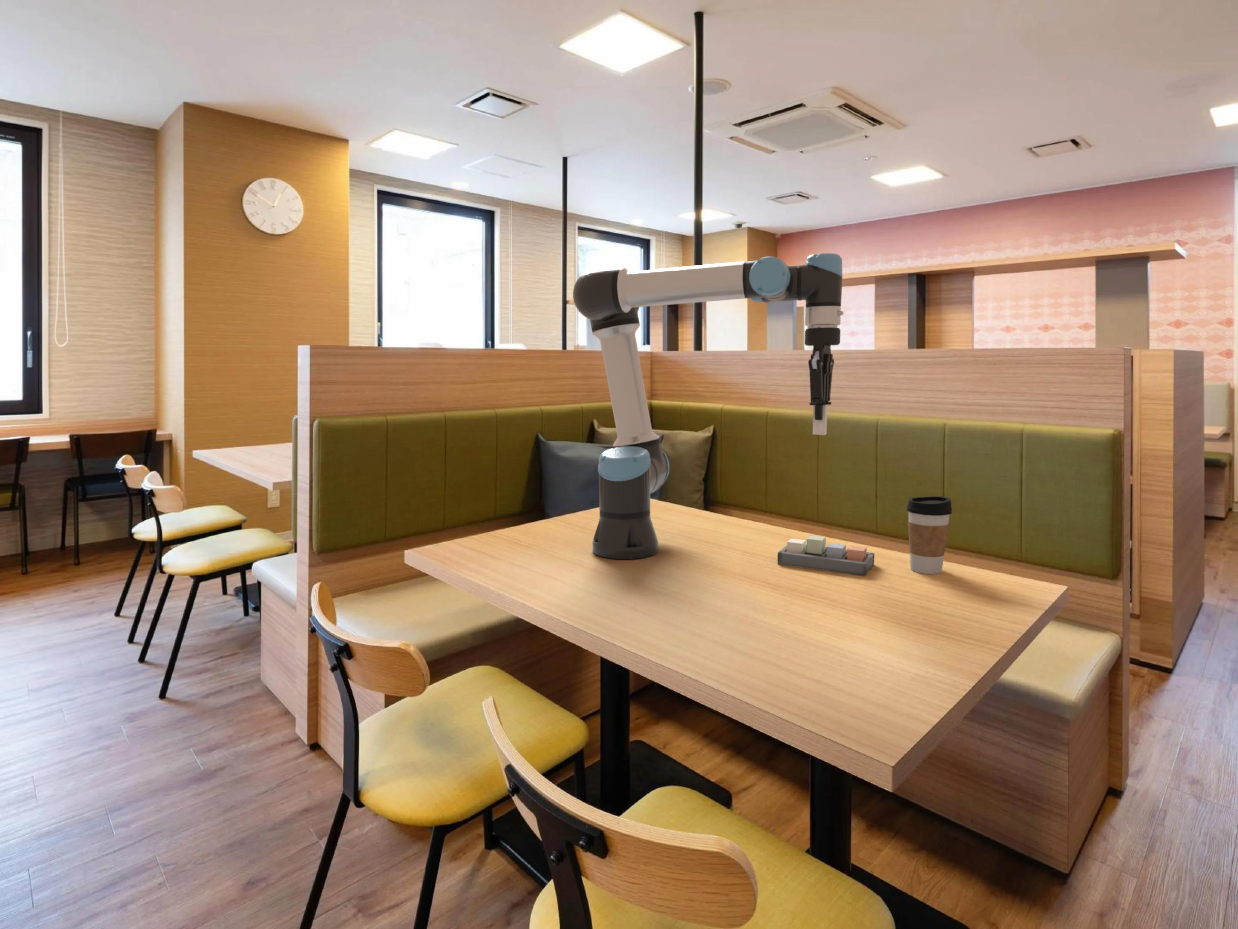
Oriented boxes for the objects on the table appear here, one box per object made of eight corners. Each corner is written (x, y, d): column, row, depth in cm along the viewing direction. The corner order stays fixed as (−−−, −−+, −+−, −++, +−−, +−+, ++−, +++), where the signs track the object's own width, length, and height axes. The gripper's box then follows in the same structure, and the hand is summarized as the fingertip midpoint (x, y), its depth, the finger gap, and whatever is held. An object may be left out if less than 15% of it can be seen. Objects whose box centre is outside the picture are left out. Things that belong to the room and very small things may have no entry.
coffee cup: (953, 577, 137) (957, 503, 135) (908, 575, 139) (911, 501, 137) (942, 565, 146) (946, 494, 143) (900, 563, 147) (903, 493, 145)
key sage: (806, 552, 147) (806, 538, 147) (810, 548, 150) (810, 535, 150) (821, 554, 146) (821, 540, 145) (825, 550, 148) (825, 537, 148)
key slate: (826, 560, 145) (826, 546, 145) (830, 556, 148) (830, 543, 148) (841, 562, 144) (842, 548, 143) (845, 558, 147) (845, 545, 146)
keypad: (777, 564, 148) (777, 552, 148) (790, 553, 156) (790, 542, 155) (865, 576, 139) (865, 564, 139) (874, 564, 147) (874, 553, 146)
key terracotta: (846, 563, 143) (847, 549, 143) (850, 559, 146) (850, 545, 146) (862, 565, 142) (863, 551, 141) (866, 561, 144) (866, 547, 144)
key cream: (786, 555, 150) (787, 541, 149) (791, 551, 152) (791, 538, 152) (801, 557, 148) (801, 543, 148) (805, 553, 151) (806, 540, 150)
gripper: (832, 325, 145) (829, 438, 148) (846, 327, 156) (843, 432, 159) (797, 326, 148) (794, 436, 152) (813, 328, 160) (810, 430, 163)
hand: (819, 434), depth 156 cm, fingers closed
